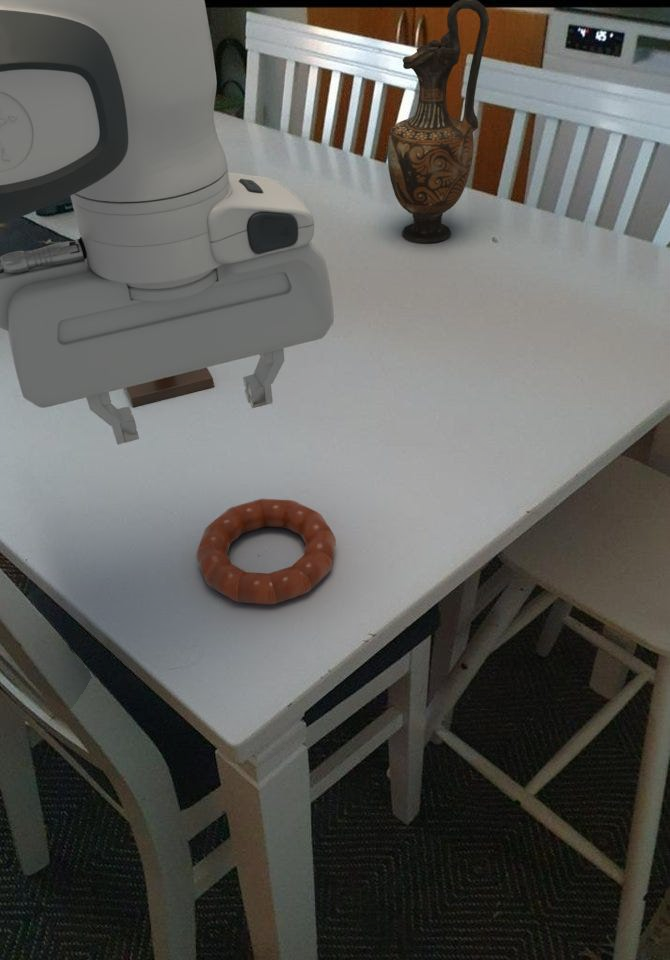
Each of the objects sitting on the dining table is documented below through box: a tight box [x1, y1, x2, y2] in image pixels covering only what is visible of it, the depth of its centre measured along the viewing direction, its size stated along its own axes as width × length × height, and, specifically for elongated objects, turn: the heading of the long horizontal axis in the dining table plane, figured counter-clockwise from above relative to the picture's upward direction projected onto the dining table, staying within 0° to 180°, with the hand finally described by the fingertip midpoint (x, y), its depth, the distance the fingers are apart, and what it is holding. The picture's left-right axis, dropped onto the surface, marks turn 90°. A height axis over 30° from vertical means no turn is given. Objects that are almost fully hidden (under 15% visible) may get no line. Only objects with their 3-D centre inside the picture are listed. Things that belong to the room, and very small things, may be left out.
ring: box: [196, 498, 337, 605], centre depth 67 cm, size 11×11×2 cm
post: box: [124, 367, 215, 408], centre depth 86 cm, size 9×9×13 cm
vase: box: [386, 0, 490, 244], centre depth 108 cm, size 12×12×30 cm
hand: (194, 419), depth 56 cm, fingers open, 8 cm apart
